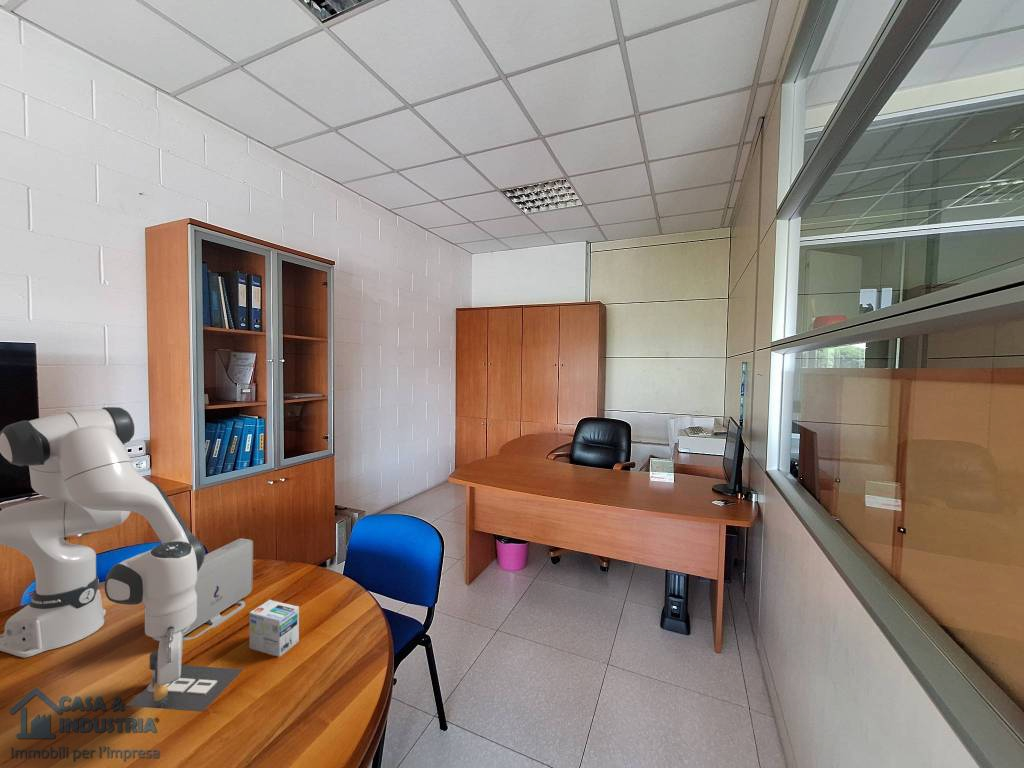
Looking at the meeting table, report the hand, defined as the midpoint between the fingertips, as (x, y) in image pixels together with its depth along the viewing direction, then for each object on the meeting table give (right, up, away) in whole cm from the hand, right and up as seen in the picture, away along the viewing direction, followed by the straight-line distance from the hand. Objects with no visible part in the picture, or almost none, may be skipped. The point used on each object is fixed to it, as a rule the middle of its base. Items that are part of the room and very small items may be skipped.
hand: (171, 676), depth 87 cm
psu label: (-2, -6, +5) cm, 8 cm away
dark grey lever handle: (-3, -1, +1) cm, 3 cm away
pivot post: (-7, -6, +5) cm, 11 cm away
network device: (-14, -5, +29) cm, 33 cm away
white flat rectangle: (+3, -6, +4) cm, 8 cm away
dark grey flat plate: (0, -7, +5) cm, 8 cm away
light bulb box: (+11, -7, +19) cm, 23 cm away
